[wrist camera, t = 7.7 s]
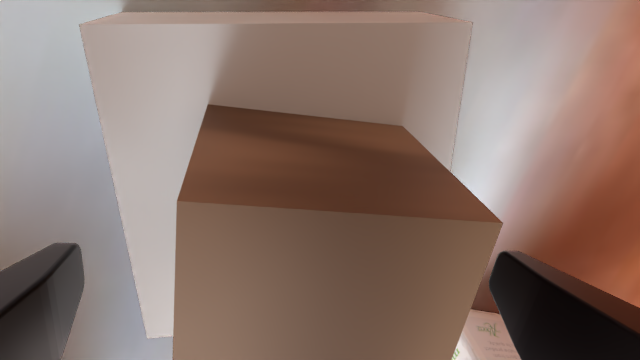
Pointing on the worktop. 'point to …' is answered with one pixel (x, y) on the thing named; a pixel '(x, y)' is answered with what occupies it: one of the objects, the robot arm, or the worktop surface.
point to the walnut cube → (322, 242)
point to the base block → (253, 99)
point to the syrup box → (485, 339)
